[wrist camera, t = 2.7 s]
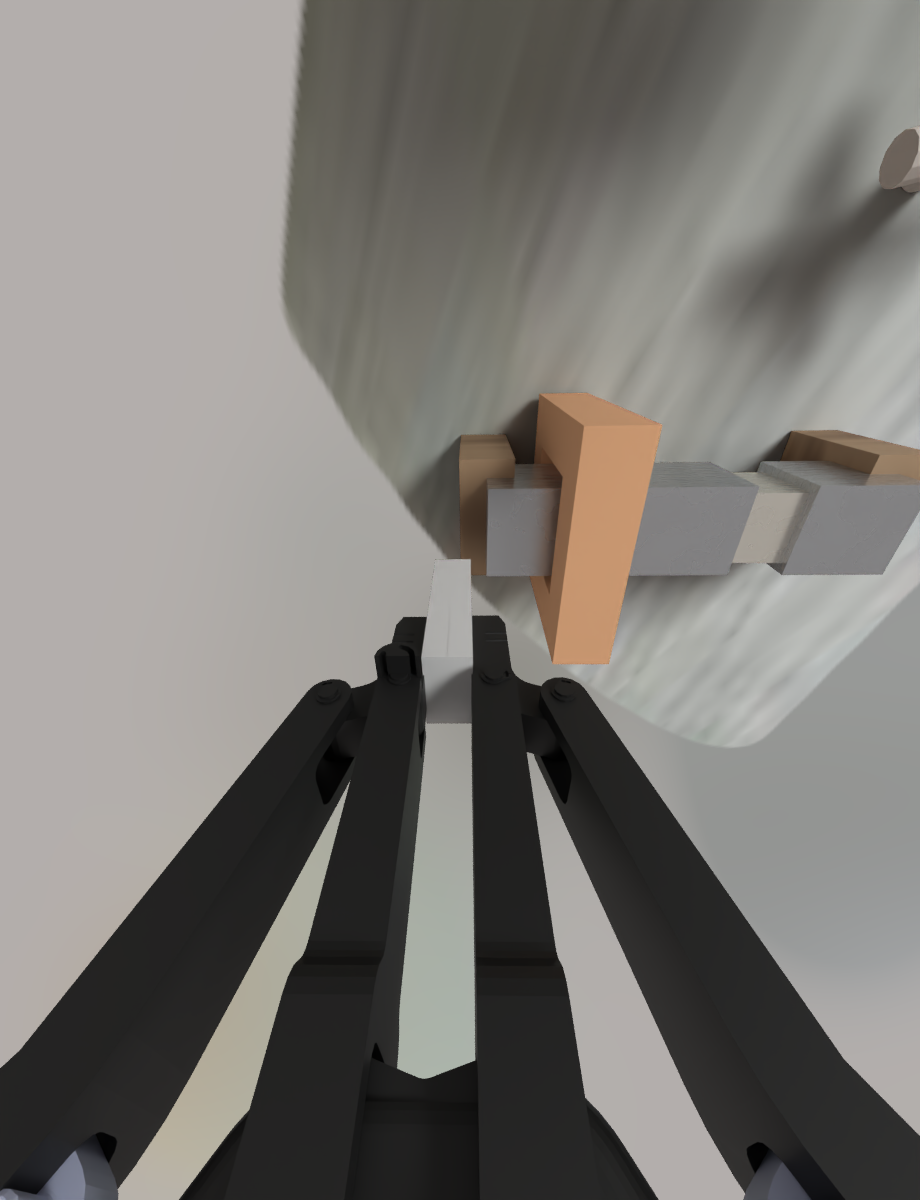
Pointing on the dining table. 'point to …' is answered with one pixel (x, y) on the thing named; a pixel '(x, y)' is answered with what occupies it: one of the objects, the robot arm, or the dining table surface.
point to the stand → (850, 450)
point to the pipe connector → (902, 162)
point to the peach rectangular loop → (591, 519)
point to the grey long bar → (720, 519)
